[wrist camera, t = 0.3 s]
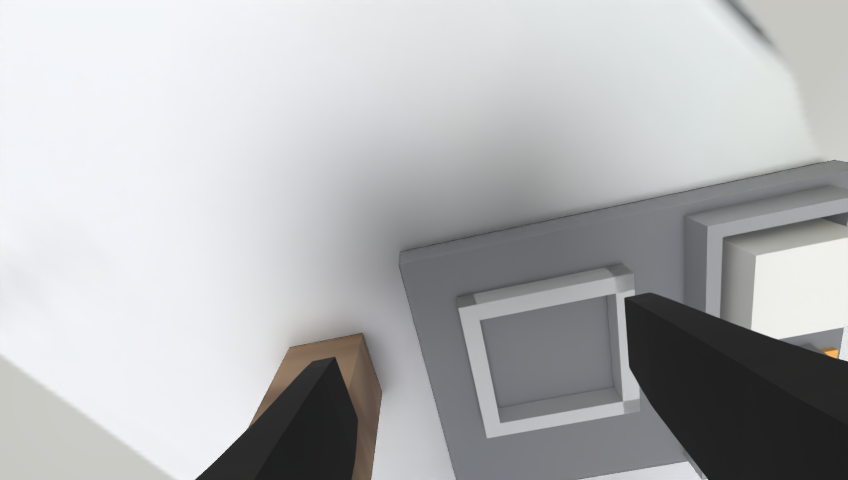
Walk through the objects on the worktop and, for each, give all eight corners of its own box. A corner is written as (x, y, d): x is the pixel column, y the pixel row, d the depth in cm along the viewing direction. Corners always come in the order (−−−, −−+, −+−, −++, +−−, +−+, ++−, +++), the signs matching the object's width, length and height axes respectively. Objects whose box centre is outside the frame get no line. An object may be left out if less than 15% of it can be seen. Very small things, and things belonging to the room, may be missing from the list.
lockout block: (382, 393, 22) (366, 519, 16) (313, 406, 23) (268, 535, 16) (362, 332, 21) (336, 442, 14) (289, 347, 21) (230, 461, 15)
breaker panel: (801, 417, 23) (879, 483, 19) (459, 475, 24) (466, 549, 20) (834, 160, 18) (950, 178, 14) (400, 252, 19) (395, 292, 15)
